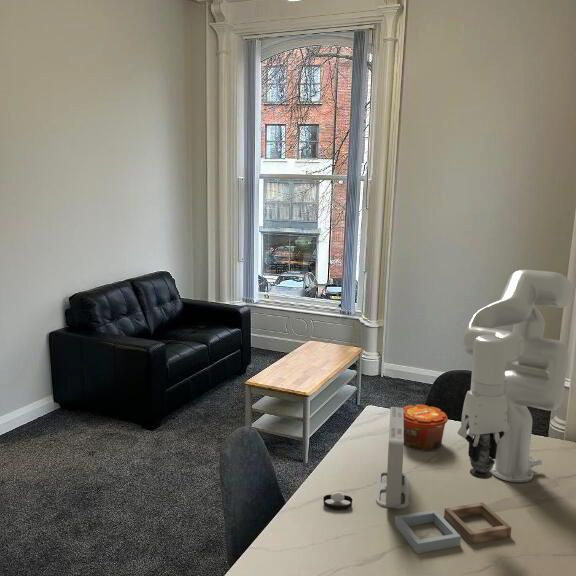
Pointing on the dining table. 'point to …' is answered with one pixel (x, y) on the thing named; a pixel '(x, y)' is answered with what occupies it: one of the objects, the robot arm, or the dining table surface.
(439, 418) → the food container
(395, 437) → the network device
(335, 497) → the watch
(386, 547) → the dining table surface
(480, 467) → the marbled chess piece
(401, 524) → the slate-grey collar
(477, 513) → the walnut collar
